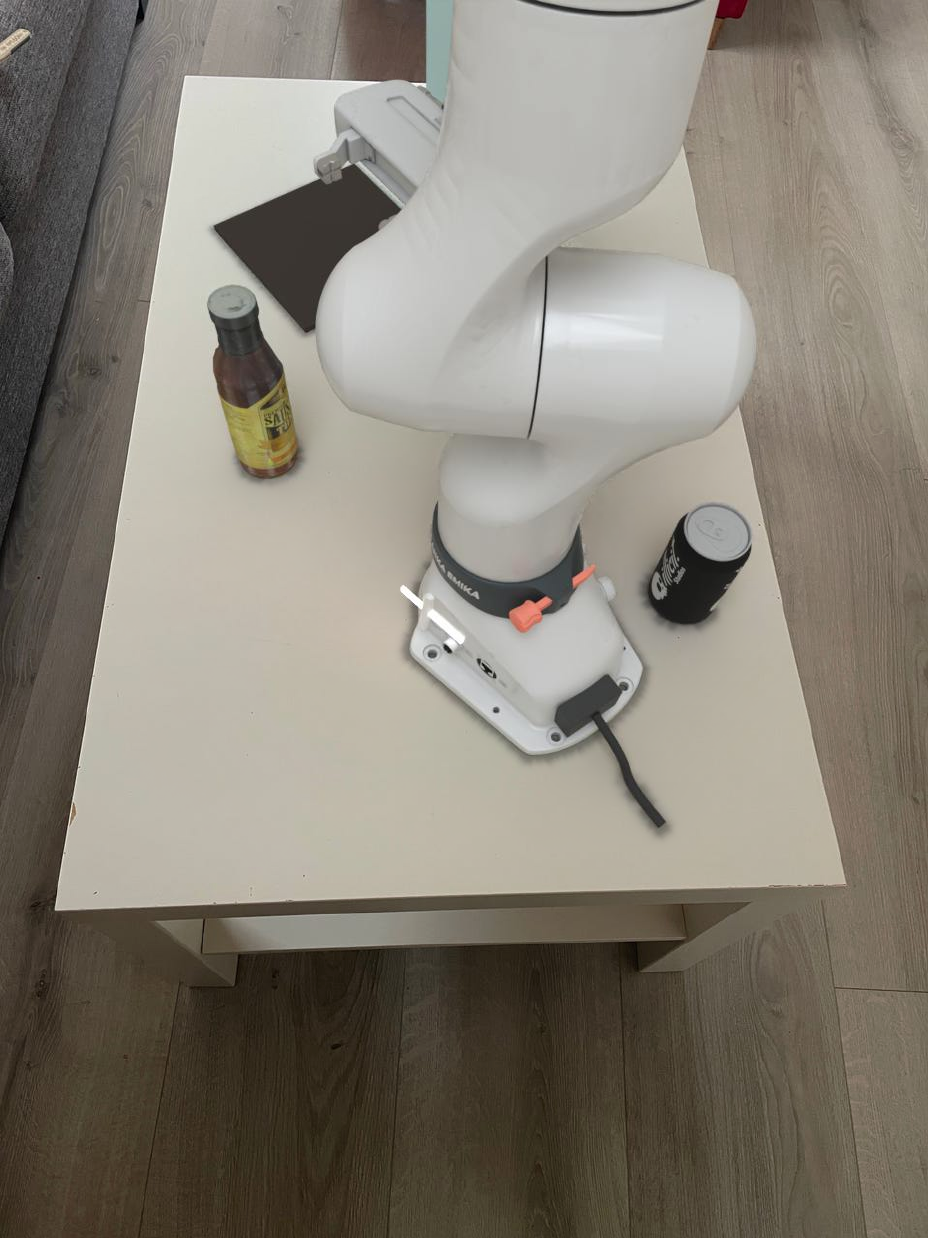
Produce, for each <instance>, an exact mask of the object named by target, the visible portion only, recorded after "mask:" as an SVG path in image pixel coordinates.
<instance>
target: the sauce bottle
mask: <svg viewBox="0 0 928 1238" xmlns="http://www.w3.org/2000/svg"><path fill="white" fill-rule="evenodd" d="M206 308H207V310H208V315H209V319H210V320H211V322H212V324H213V325H214V328H215V332H216V335H217V343H218V345H217V347H216V348H215V349H214V352H213V356H212V371H213V372H212V373H213V375H214V379H215V382H216V389H217V393H218V397H219V400H220V403H221V407H222V410H223V414H224V418H225V421H226V424H227V428H228V433H229V435H230V439H231V442H232V445H233V449H234V453H235V455H236V457H237V458H238V460H239V463H240V465H241V467H242V468H243V469H244V471H246V472H247V473H248V474H250V475H253V476H254V477H258V478H262V479H263V478H265V479H271V478H276V477H279V476H281V475H283V474H284V473H286V472H287V471H289V470H290V469H291V468H292V467H293V466H294V465H295V462H296V460H297V458H298V445H299V444H298V442H299V441H298V436H297V431H296V426H295V422H294V421H295V420H294V416H293V410H292V405H291V400H290V396H289V390H288V385H287V378H286V373H285V369H284V368H285V367H284V365H283V362H282V361H281V360H280V358H278V356H277V355H276V352H275V351H274V350H273V348H272V347H271V345H270V344H269V342H268V341H267V340H266V338H265V337H264V336H265V335H264V333H263V330H262V329H261V324H260V323H261V322H260V318H259V315H260V307H259V305H258V300H257V297H256V295H255V293H254V292H253V291H251V289H249V288H248V287H246V286H243V285H240V284H228V285H224V286H220V287H218V288H216V289H214V290H213V291H212V292H211V293H210V294H209V296H208V299H207V302H206Z"/></svg>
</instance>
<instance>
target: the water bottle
mask: <svg viewBox="0 0 928 1238" xmlns="http://www.w3.org/2000/svg"><path fill="white" fill-rule="evenodd" d="M425 11H426V12H425V40H426V41H425V58H426V59H425V75H426V76H425V78H426V79H425V88H426V89H427V90H428V91H429V92H430V93H431V95H432V96H433V97H435V98H436V99H438V100H439V101H441V102H442V103H443V101H444V99H445V96H446V88H447V78H448V68H449V58H450V46H451V31H452V16H453V0H425Z"/></svg>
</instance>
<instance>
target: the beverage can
mask: <svg viewBox="0 0 928 1238" xmlns="http://www.w3.org/2000/svg"><path fill="white" fill-rule="evenodd" d="M753 536H754V534H753V528H752V525H751V523H750V521H749V519H748V518H747V517H746V516H745V514H744V513H742V512H741V511H740V510H739V509H738V508H736V507H734V506H733V505H730V504H727V503H725V502H720V501H707V502H702V503H700V504H698V505H696V506H695V507H693V508H692V509H690V511H689V512H687V513H685V514H684V515H683V516H682V517H681V518H680V519H679V520H678V521H677V524H676V525H675V528H674V530H673V531H672V533H671V536H670V537H669V540H668V541H667V543H666V546H665V548H664V550H663V553H662V554H661V557H660V559H659V560H658V563H657V564H656V567H655V569H654V571H653V573H652V575H651V577H650V579H649V581H648V586H647V587H648V589H647V591H648V598H649V600H650V602H651V605H652V606H653V608H654V609H655V610H656V611H657V612H658V614H660V615H661V616H662V617H664V618H665V619H667V620H668V621H670V622H673V623H676V624H681V625H693V624H698V623H700V622H702V621H705V620H706V619H707V618H708V617H710V616H711V615H712V613H713V612H714V611H715V609H716V607H718V604H719V603H720V602H721V601H722V599H723V597H724V596H725V594H726V593H727V591H728V590H729V588H730V587H731V585H732V584H733V582H734V581H735V580H736V578H737V576H738V575H739V573H740V572H741V570H742V569H743V567H744V566H745V565H746V563H747V562H748V560H749V558H750V556H751V553H752V545H753V544H752V543H753Z"/></svg>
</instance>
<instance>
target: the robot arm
mask: <svg viewBox="0 0 928 1238" xmlns="http://www.w3.org/2000/svg"><path fill="white" fill-rule="evenodd" d="M719 4H720V0H453V16H452V31H451V46H450V58H449V68H448V78H447V88H446V96H445V99H444V101H443V103H442V102H441V101H439V100H438V99H436V98H435V97H433V96H432V95H431V93H430V92H429V91H428V90H427V89H426V86H422V85H418V86H416V85H415V84H413V83H412V82H410V81H407V80H404V79H389V80H385V81H381V82H376V83H374V84H369V85H365V86H362V87H359V88H356V89H353V90H351V91H347V92H345V93H342V94H340V95H339V97H338V98H337V99H336V101H335V103H334V106H333V117H334V128H335V133H336V139H335V140H334V142H333V143H332V145H331V146H330V147H329V149H328V150H326V151H324V152H321V153H319V154H317V155H315V157H314V158H313V163H312V164H313V170H314V171H313V172H314V175H316V176H317V177H318V179H321V180H322V181H323V182H324V183H325V184H330V183H332V181H337V180H339V179H341V178H342V172H341V169H343V168H344V166H345V165H346V163H347V162H348V163H349V165H352V164H355V165H356V164H357V163H359V162H360V163H361V165H363V167H365V168H366V169H367V170H368V172H370V173H371V174H372V175H373V177H375V178H376V179H377V180H378V181H379V182H381V184H382V185H383V186H384V187H386V188H387V189H388V190H389V191H390V192H391V193H392V194H393V195H394V196H395V197H396V198H397V199H398V200H399V201H400V202H401V203H402V204H403V205H404V206H403V207H402V208H401V211H400V212H399V213H398V214H395V215H393V216H391V217H389V219H385V220H383V221H381V222H380V224H379V231H378V232H377V233H375V234H374V235H372V236H371V237H369V238H368V239H366V240H365V241H363V242H361V243H359V244H357V245H356V246H354V247H353V248H352V249H351V250H350V251H349V252H347V253H346V254H345V255H344V257H343V258H342V259H341V260H340V261H339V262H338V264H337V265H336V266H335V268H334V269H333V271H332V272H331V274H330V276H329V278H328V280H327V282H326V284H325V286H324V288H323V291H322V294H321V297H320V300H319V304H318V309H317V314H316V328H315V344H316V351H317V355H318V359H319V363H320V366H321V369H322V372H323V374H324V376H325V378H326V380H327V382H328V384H329V386H330V388H331V389H332V391H333V393H334V395H335V396H336V397H337V398H338V399H339V401H340V402H341V403H342V404H343V405H344V406H345V408H346V409H347V410H348V411H350V412H352V413H354V414H359V415H362V416H365V417H368V418H372V419H374V420H375V419H376V420H378V421H381V422H385V423H390V424H392V425H397V426H400V427H404V428H408V429H412V430H416V431H420V432H429V433H430V432H431V433H444V434H452V435H451V436H450V438H449V439H448V440H447V443H446V444H445V446H444V448H443V451H442V453H441V456H440V458H439V465H438V486H437V487H438V488H437V489H438V490H437V501H436V503H435V506H434V510H433V513H432V522H431V524H430V529H429V530H430V532H429V533H430V535H429V538H430V548H431V553H432V559H431V563H430V565H429V567H428V568H427V570H426V571H425V573H424V575H423V577H422V579H421V582H420V585H419V589H418V594H417V596H416V595H415V594H414V593H413V592H412V591H410V590H409V589H408V587H406V586H404V585H402V586H401V587H400V592H401V593H402V594H403V595H405V597H406V598H407V599H409V600H410V601H411V602H412V603H414V604H415V606H417V624H416V626H415V628H414V630H413V633H412V636H411V639H410V643H409V648H408V649H409V654H410V656H411V657H412V658H413V659H414V660H415V662H417V663H418V664H419V665H421V667H422V668H424V669H425V670H426V671H427V672H429V674H431V675H432V676H433V677H434V678H435V679H437V680H438V681H439V682H440V683H441V684H443V685H444V686H445V687H446V688H447V689H449V690H450V691H451V692H452V693H453V694H454V695H456V696H457V697H458V698H459V699H460V700H461V701H463V702H464V703H465V704H466V705H467V706H468V707H470V708H471V709H472V710H473V711H474V712H475V713H476V714H478V715H479V716H480V717H481V718H483V719H484V720H485V721H486V722H487V723H488V724H490V726H492V727H493V728H494V729H495V730H497V731H498V732H499V733H500V734H501V735H503V737H505V738H506V739H507V740H508V741H510V743H512V744H513V745H514V746H516V747H517V748H518V749H519V750H521V751H522V752H523V753H525V754H527V755H529V756H542V755H548V754H553V753H557V752H560V751H563V750H565V749H569V748H570V747H572V746H574V745H577V744H579V743H580V742H582V741H583V740H586V739H587V738H588V737H590V736H592V735H593V734H594V733H596V732H597V731H599V732H600V734H601V735H602V737H603V738H604V740H605V741H606V744H608V747H609V748H610V750H611V751H612V753H613V755H614V756H615V757H614V758H615V759H616V761H617V763H618V765H619V768H620V771H621V775H622V777H623V780H624V782H625V785H626V787H627V788H628V790H629V791H630V793H631V795H632V796H633V797H634V799H635V800H636V802H637V803H638V804H639V806H640V807H641V808H642V809H643V810H644V811H645V813H646V814H647V816H648V817H649V818H650V819H651V820H652V822H653V823H654V825H656V826H657V828H661V827H662V826H663V825H665V824H666V823H667V821H666V820H665V819H664V817H663V816H662V815H661V814H660V812H659V811H658V810H657V809H656V808H655V806H654V805H653V804H652V803H651V802H650V800H649V799H648V797H646V795H645V794H644V792H643V791H642V789H641V787H640V786H639V784H638V783H637V781H636V779H635V777H634V775H633V773H632V769H631V765H630V763H629V759H628V758H627V757H628V756H627V755H626V753H625V752H624V750H623V747H622V746H621V744H620V743H619V741H618V739H617V738H616V736H615V735H614V733H613V731H612V730H611V728H610V727H609V725H608V724H607V723H609V722H610V721H611V720H613V719H614V718H615V717H616V716H617V715H618V714H619V713H620V712H621V711H622V710H623V709H624V707H626V705H627V704H628V703H629V702H630V701H631V699H632V697H633V695H634V694H635V692H636V691H637V689H638V686H639V684H640V681H641V677H642V675H643V670H644V667H643V663H642V662H641V659H640V658H639V656H638V654H637V653H636V651H635V649H634V648H633V647H632V645H631V643H630V641H629V640H628V638H627V636H626V635H625V633H624V632H623V630H622V628H621V626H620V624H619V622H618V620H617V618H616V616H615V613H614V612H613V610H612V607H610V604H609V603H610V602H612V601H614V600H615V599H616V598H617V590H616V586H615V585H614V583H613V581H612V580H611V579H610V578H609V577H608V576H605V575H604V576H600V577H599V578H596V577H595V575H594V572H595V569H596V567H597V564H596V563H594V564H591V565H590V566H589V563H588V561H587V559H586V558H585V554H587V547H586V544H585V543H584V541H583V539H582V527H581V525H580V522H581V518H582V516H583V513H584V512H585V509H586V507H587V505H588V503H589V501H590V499H591V498H592V496H594V495H595V493H596V492H597V491H599V490H600V489H601V488H602V487H604V486H605V485H606V484H607V483H609V482H610V481H611V480H613V479H614V478H616V477H617V476H618V475H620V474H622V473H623V472H625V471H626V470H628V469H630V468H631V467H632V466H635V465H636V464H638V463H640V462H641V461H644V460H646V459H648V458H650V457H652V456H654V455H657V454H658V453H661V452H664V451H668V450H669V449H672V448H674V447H678V446H681V445H685V444H687V443H691V442H696V441H698V440H702V439H706V438H708V437H710V436H711V435H712V434H713V433H714V432H716V431H717V430H718V429H719V428H721V427H722V426H723V424H725V422H727V420H728V419H729V418H730V417H731V416H732V415H733V413H735V410H737V408H738V406H739V405H740V403H741V402H742V400H743V398H744V396H745V394H746V393H747V390H748V388H749V385H750V383H751V380H752V378H753V374H754V370H755V366H756V361H757V354H758V353H757V352H758V338H757V327H756V322H755V317H754V313H753V310H752V308H751V305H750V302H749V300H748V298H747V295H745V292H744V291H743V289H742V288H741V287H742V286H741V285H740V284H739V283H738V281H737V280H736V279H735V278H734V276H732V275H730V274H727V273H724V272H721V271H718V270H715V269H712V268H709V267H706V266H702V265H699V264H696V263H693V262H689V261H686V260H682V259H679V258H675V257H671V256H668V255H664V254H660V253H657V252H646V251H632V250H631V251H629V250H616V249H603V248H587V247H574V246H561V245H563V244H565V243H566V242H568V241H570V240H571V239H573V238H575V237H578V236H580V235H581V234H585V233H587V232H588V231H591V230H593V229H596V228H598V227H600V226H603V225H605V224H608V223H609V222H612V221H614V220H616V219H617V218H620V217H621V216H623V215H626V213H628V212H630V211H632V210H633V209H634V208H636V207H637V206H638V205H640V204H641V203H642V202H643V201H644V200H645V199H646V198H647V197H648V196H650V194H651V193H652V192H653V191H654V190H655V189H656V188H657V186H658V185H659V184H660V183H661V181H662V180H663V179H664V177H665V176H666V175H667V173H668V172H669V171H670V169H671V168H672V166H673V165H674V163H675V161H676V160H677V158H678V156H679V154H680V152H681V150H682V148H683V145H684V140H685V136H686V132H687V128H688V124H689V120H690V116H691V114H692V108H693V105H694V102H695V97H696V93H697V90H698V86H699V81H700V78H701V74H702V70H703V65H704V62H705V58H706V54H707V50H708V46H709V42H710V38H711V35H712V30H713V28H714V23H715V19H716V15H717V11H718V8H719ZM430 654H435V655H436V656H435V657H429V655H430ZM620 686H625V688H626V690H622V689H621V687H620ZM494 711H497V712H494ZM553 736H557V737H558V739H559V740H558V741H555V740H553V739H552V737H553Z"/></svg>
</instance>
